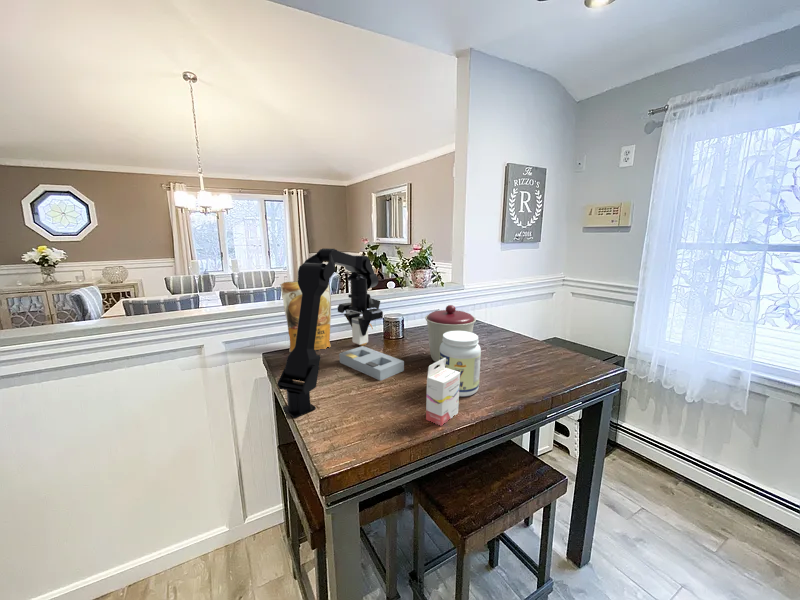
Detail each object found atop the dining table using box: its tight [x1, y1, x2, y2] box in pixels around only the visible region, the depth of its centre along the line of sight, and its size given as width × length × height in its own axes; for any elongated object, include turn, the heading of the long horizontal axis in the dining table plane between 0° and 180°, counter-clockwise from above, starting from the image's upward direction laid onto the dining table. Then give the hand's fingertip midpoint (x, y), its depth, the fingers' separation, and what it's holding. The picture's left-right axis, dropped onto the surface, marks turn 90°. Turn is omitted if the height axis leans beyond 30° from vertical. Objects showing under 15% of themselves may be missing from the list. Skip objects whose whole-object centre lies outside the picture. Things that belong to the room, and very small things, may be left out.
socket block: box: [338, 346, 405, 382], centre depth 117 cm, size 22×11×4 cm, turn 46°
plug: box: [351, 315, 369, 346], centre depth 119 cm, size 4×4×9 cm
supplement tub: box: [438, 331, 482, 397], centre depth 100 cm, size 12×12×17 cm
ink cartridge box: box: [425, 358, 460, 427], centre depth 84 cm, size 9×5×15 cm, turn 141°
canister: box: [424, 304, 477, 363], centre depth 121 cm, size 18×18×21 cm
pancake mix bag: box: [280, 280, 332, 353], centre depth 132 cm, size 7×19×28 cm, turn 110°
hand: (360, 334), depth 119 cm, fingers closed on plug, 4 cm apart
